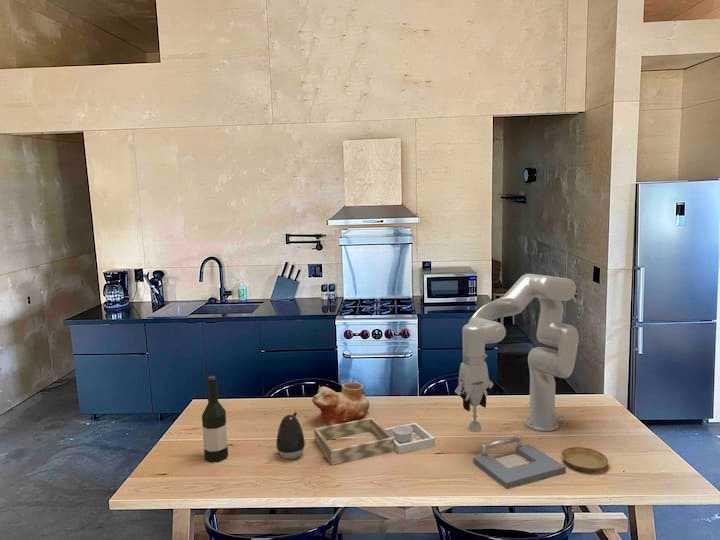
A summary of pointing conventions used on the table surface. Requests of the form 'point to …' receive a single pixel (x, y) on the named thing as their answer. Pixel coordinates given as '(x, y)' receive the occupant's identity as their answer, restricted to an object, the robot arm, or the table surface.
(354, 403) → the ceramic vessel
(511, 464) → the felt pad
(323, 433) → the beige brown patterned tray
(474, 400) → the chalice
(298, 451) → the dark grey pear figure
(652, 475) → the table surface
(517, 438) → the metal bar handle
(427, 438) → the square frame
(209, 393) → the wine bottle
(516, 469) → the grey rectangular frame
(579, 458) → the plant saucer
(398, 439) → the teacup
